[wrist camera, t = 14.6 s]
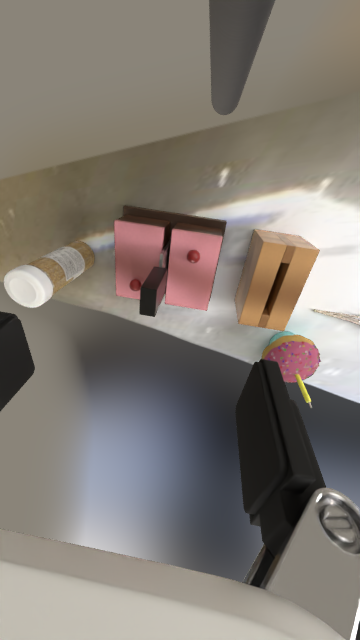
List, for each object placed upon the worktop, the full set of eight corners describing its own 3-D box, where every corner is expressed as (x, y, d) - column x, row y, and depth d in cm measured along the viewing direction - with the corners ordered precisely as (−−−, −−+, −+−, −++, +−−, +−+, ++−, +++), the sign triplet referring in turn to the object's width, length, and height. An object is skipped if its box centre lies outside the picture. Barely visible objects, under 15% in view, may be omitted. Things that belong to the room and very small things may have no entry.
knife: (166, 236, 33) (140, 272, 21) (177, 238, 33) (158, 275, 21) (163, 276, 36) (138, 326, 24) (173, 278, 36) (154, 329, 24)
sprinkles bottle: (73, 269, 38) (14, 310, 27) (62, 241, 36) (-7, 272, 24) (99, 267, 37) (50, 308, 26) (90, 238, 35) (31, 268, 24)
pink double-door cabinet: (125, 205, 32) (103, 212, 26) (226, 220, 32) (229, 232, 25) (125, 285, 38) (108, 306, 32) (209, 299, 38) (209, 323, 32)
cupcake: (317, 349, 41) (351, 407, 30) (270, 367, 44) (287, 425, 34) (297, 313, 37) (328, 364, 27) (248, 335, 41) (260, 389, 31)
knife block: (254, 228, 32) (263, 241, 26) (300, 235, 31) (320, 250, 26) (234, 300, 38) (238, 323, 32) (272, 306, 37) (284, 331, 31)
